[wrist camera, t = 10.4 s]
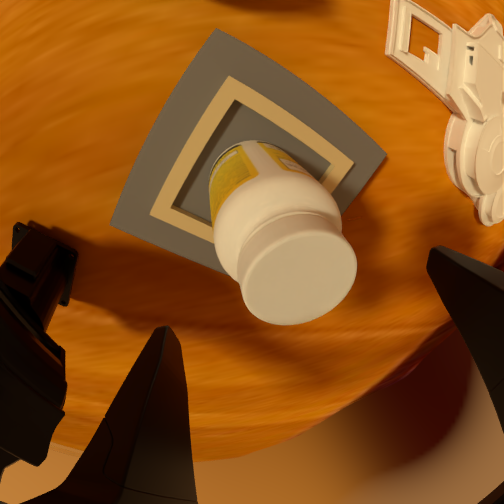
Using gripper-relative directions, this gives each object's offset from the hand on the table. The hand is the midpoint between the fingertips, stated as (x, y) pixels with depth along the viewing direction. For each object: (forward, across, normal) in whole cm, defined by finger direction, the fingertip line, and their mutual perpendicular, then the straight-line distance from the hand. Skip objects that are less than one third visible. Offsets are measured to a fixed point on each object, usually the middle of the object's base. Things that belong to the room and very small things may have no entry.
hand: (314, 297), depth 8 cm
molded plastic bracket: (+13, -23, -5) cm, 26 cm away
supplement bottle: (+11, 0, 0) cm, 11 cm away
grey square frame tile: (+12, 0, 0) cm, 12 cm away
